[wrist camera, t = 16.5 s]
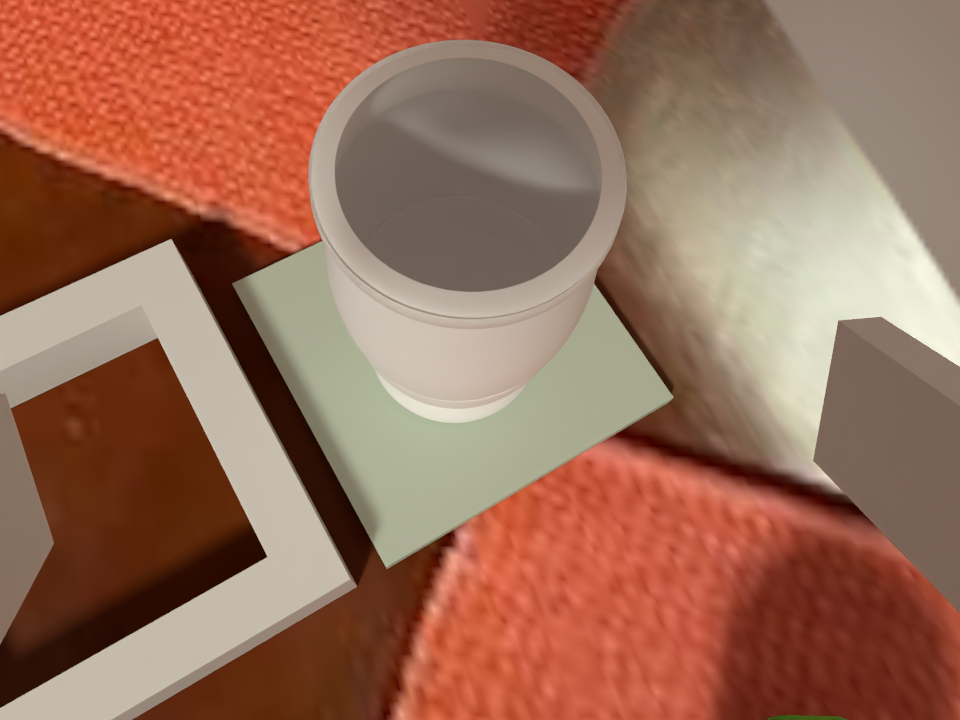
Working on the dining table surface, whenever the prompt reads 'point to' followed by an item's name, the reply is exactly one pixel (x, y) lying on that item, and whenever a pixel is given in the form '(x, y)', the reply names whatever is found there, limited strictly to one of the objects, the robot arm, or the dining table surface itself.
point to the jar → (464, 218)
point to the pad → (432, 444)
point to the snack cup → (805, 717)
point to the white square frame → (241, 451)
